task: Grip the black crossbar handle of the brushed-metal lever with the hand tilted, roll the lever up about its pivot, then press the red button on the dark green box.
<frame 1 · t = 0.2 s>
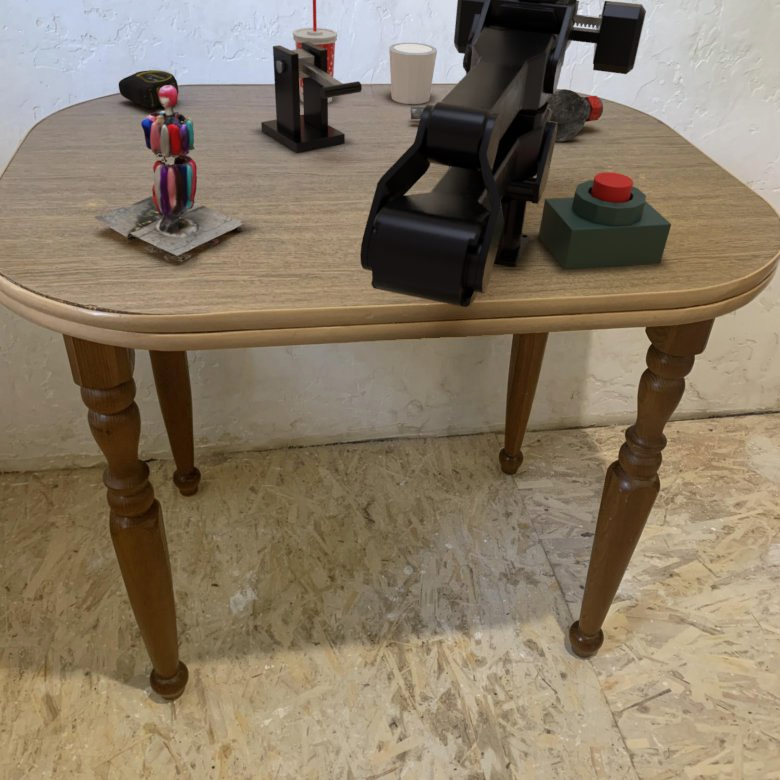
hand: (558, 15, 85), 17 cm above the table, tool horizontal, fingers open, 9 cm apart
button box: (597, 250, 77), on the table
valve: (502, 123, 107), on the table
tape measure: (151, 106, 107), on the table
white tapered cup: (410, 99, 114), on the table
beverage cup: (316, 100, 112), on the table
statue: (171, 233, 76), on the table
bracket: (302, 137, 99), on the table
button: (611, 188, 73), point 6 cm above the table, slide at 0.1 cm
lever: (318, 75, 91), point 9 cm above the table, hinge at -5.0°
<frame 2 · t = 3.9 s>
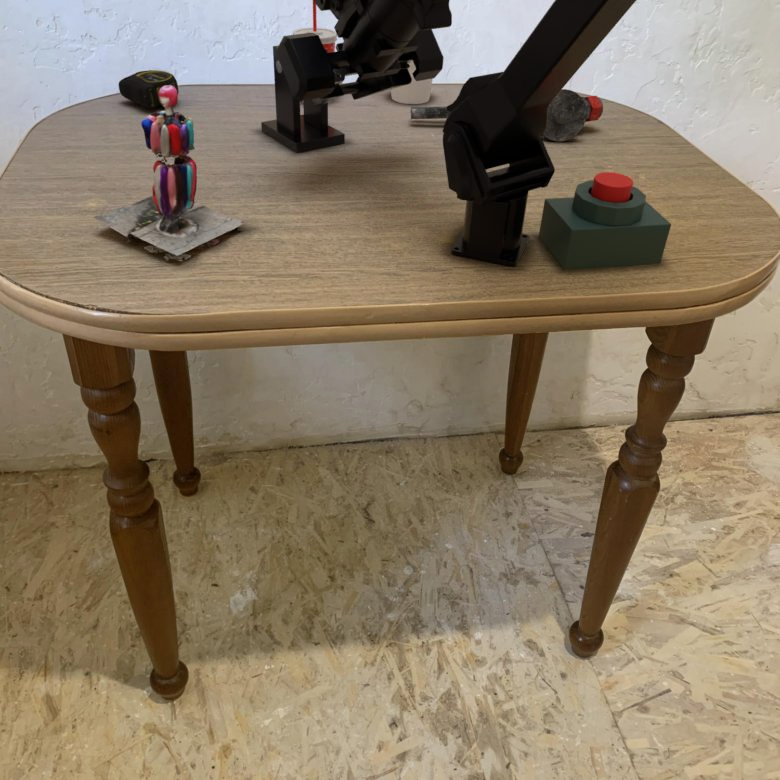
hand: (334, 99, 90), 7 cm above the table, tool tilted 45°, fingers closed on lever, 5 cm apart
lever: (318, 75, 91), point 9 cm above the table, hinge at -5.0°, touching gripper
everything else where it was.
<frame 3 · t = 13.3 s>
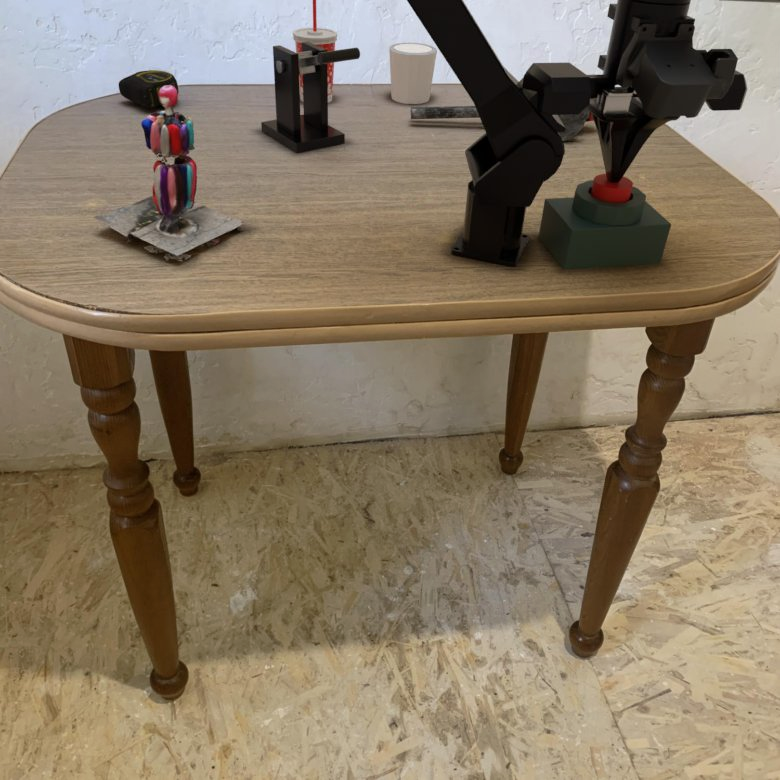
hand: (612, 181, 72), 7 cm above the table, tool pointing down, fingers closed, pressing on button
button: (611, 189, 73), point 6 cm above the table, slide at 0.0 cm, touching gripper
lever: (317, 60, 90), point 10 cm above the table, hinge at 18.2°
everything else where it was.
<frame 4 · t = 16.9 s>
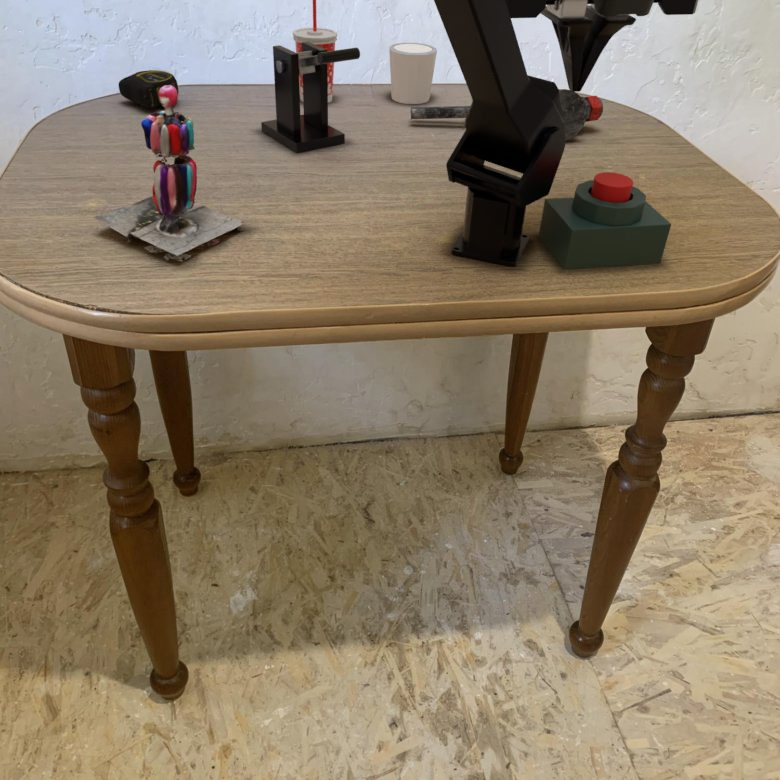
hand: (574, 90, 75), 13 cm above the table, tool pointing down, fingers closed
button: (611, 188, 73), point 7 cm above the table, slide at 0.1 cm
everything else where it was.
at the end: lever at +18° (first picture: -5°); button pushed in 1.2 cm at the most during the clip, back to where it started at the end; button slide at 0.1 cm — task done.
